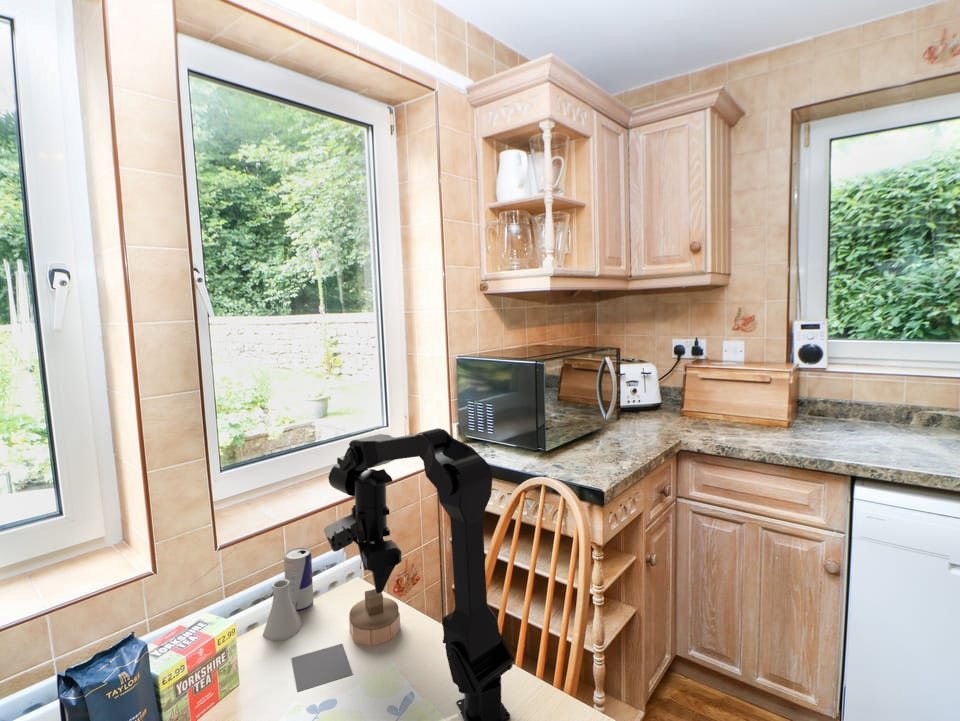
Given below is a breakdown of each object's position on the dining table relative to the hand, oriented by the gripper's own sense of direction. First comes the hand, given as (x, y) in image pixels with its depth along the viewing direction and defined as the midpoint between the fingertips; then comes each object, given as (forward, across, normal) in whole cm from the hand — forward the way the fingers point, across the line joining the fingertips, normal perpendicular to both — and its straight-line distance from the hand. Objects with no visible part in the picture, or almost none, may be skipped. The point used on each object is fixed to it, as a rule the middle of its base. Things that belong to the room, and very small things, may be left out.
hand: (372, 580), depth 100 cm
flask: (+11, -8, -16) cm, 21 cm away
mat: (+10, +6, -11) cm, 16 cm away
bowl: (+10, 0, 0) cm, 11 cm away
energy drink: (+11, -15, -12) cm, 22 cm away
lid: (+7, 0, 0) cm, 7 cm away
